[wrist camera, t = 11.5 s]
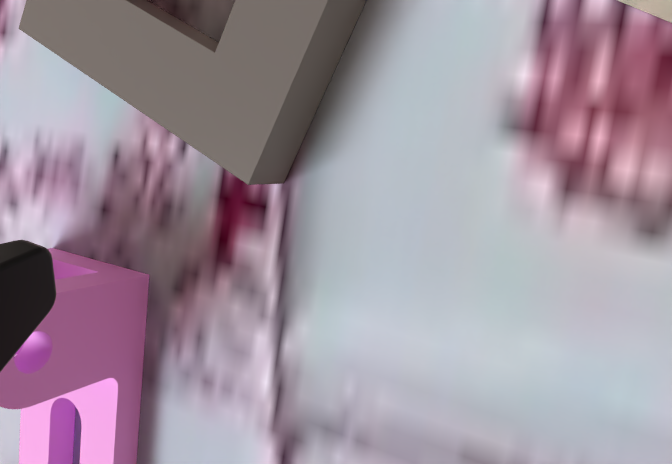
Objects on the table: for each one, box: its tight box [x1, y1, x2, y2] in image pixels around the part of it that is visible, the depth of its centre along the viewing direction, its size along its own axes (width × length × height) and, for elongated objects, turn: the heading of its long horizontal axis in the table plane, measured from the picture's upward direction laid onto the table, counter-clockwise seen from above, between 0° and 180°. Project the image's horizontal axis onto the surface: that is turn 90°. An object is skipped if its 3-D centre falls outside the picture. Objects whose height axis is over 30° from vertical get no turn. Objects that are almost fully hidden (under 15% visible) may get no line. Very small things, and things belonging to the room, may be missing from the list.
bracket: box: [0, 248, 149, 464], centre depth 24 cm, size 13×6×7 cm, turn 174°
